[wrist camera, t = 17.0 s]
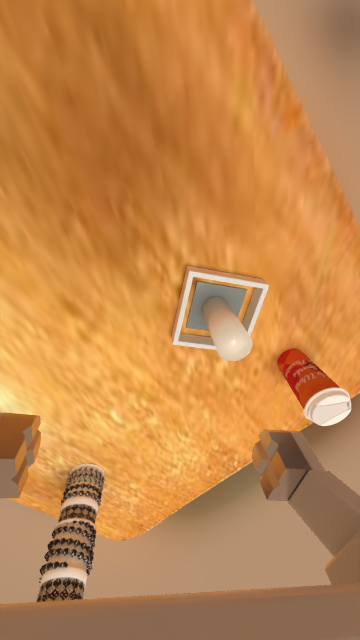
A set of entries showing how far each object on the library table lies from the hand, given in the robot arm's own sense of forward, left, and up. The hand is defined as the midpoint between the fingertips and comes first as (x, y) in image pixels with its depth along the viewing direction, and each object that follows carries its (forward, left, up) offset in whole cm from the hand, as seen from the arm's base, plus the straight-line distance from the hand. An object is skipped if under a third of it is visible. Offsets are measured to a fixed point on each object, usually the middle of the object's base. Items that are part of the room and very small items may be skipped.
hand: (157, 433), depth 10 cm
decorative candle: (-7, -58, -35) cm, 68 cm away
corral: (+13, -9, -35) cm, 39 cm away
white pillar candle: (+13, -9, -35) cm, 38 cm away
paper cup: (+32, -18, -35) cm, 51 cm away
